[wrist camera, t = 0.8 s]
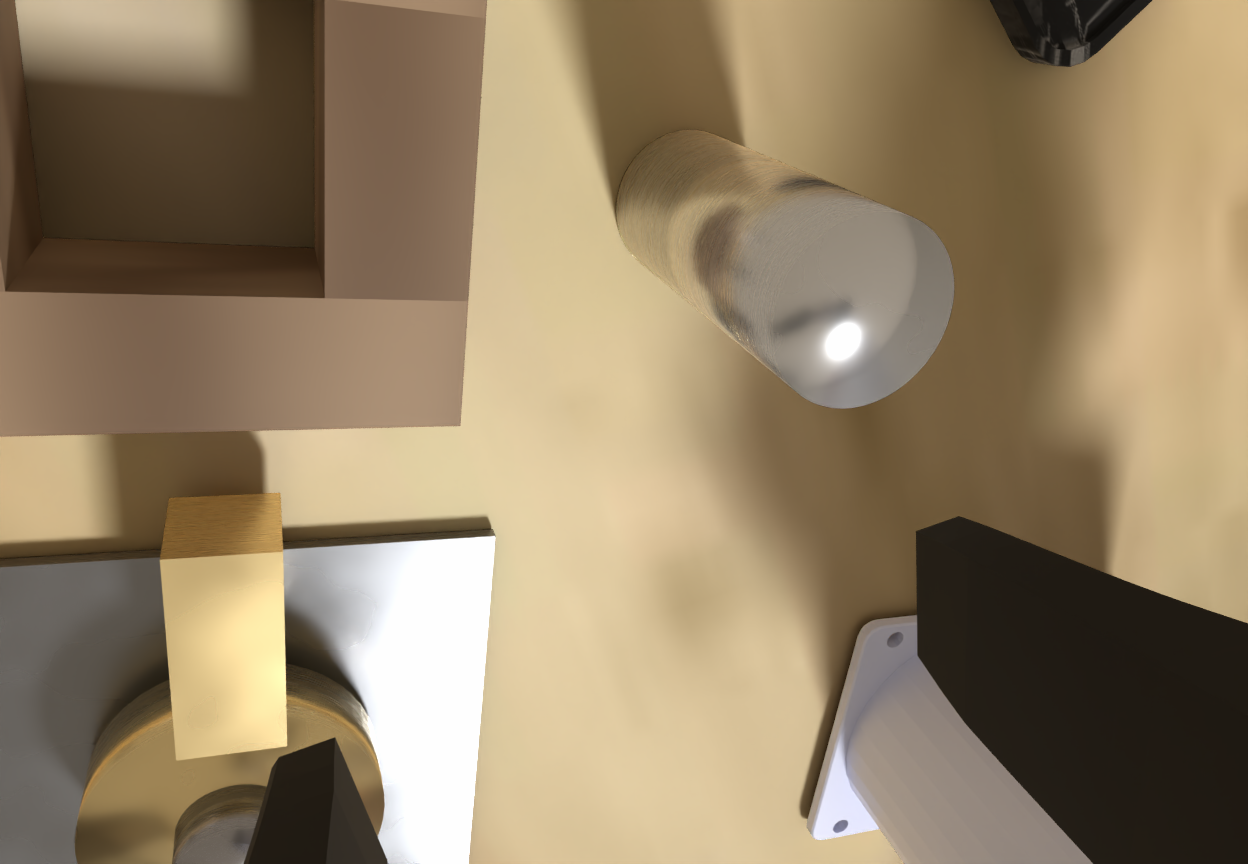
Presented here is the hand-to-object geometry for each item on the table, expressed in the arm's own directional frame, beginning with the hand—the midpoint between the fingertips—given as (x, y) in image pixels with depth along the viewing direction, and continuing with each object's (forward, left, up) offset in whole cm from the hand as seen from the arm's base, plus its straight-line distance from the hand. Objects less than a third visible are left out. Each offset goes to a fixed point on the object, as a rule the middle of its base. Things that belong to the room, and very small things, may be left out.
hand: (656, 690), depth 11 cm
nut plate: (+5, +9, -10) cm, 15 cm away
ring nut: (+5, +7, -10) cm, 13 cm away
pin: (-4, -4, -10) cm, 12 cm away
